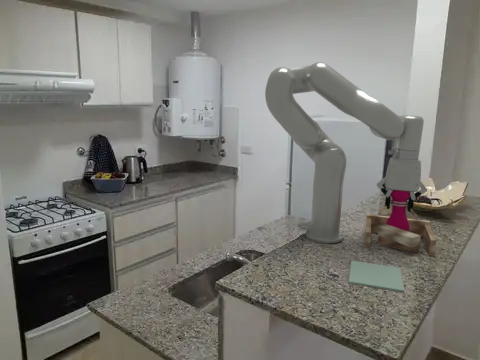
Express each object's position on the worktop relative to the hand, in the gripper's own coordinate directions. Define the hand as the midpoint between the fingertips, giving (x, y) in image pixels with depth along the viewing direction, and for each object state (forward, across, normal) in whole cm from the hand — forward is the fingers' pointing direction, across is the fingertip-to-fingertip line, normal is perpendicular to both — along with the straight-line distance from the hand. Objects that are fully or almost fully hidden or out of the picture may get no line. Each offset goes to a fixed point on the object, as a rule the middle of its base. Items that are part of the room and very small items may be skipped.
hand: (398, 208), depth 121 cm
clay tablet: (+11, +3, +28) cm, 30 cm away
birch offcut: (+8, 0, -7) cm, 11 cm away
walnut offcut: (+11, +1, -6) cm, 13 cm away
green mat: (+11, -6, -30) cm, 32 cm away
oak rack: (+11, +1, -2) cm, 11 cm away
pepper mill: (+11, +1, 0) cm, 11 cm away
